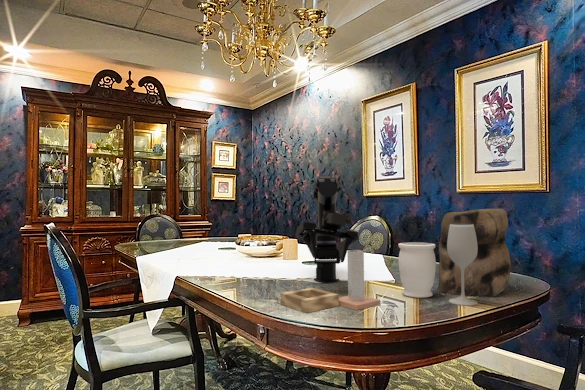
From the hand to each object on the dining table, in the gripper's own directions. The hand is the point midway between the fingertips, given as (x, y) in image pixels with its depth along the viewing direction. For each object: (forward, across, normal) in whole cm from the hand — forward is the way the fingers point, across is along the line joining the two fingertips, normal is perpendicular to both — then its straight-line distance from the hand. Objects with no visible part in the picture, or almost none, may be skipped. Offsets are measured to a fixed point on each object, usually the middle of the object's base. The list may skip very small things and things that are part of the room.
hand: (328, 259), depth 117 cm
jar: (+9, +26, -6) cm, 28 cm away
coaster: (+14, +4, -7) cm, 16 cm away
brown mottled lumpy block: (+6, +46, -9) cm, 47 cm away
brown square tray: (+15, -8, -2) cm, 17 cm away
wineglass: (+13, +31, -17) cm, 38 cm away
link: (+13, +4, -7) cm, 15 cm away
